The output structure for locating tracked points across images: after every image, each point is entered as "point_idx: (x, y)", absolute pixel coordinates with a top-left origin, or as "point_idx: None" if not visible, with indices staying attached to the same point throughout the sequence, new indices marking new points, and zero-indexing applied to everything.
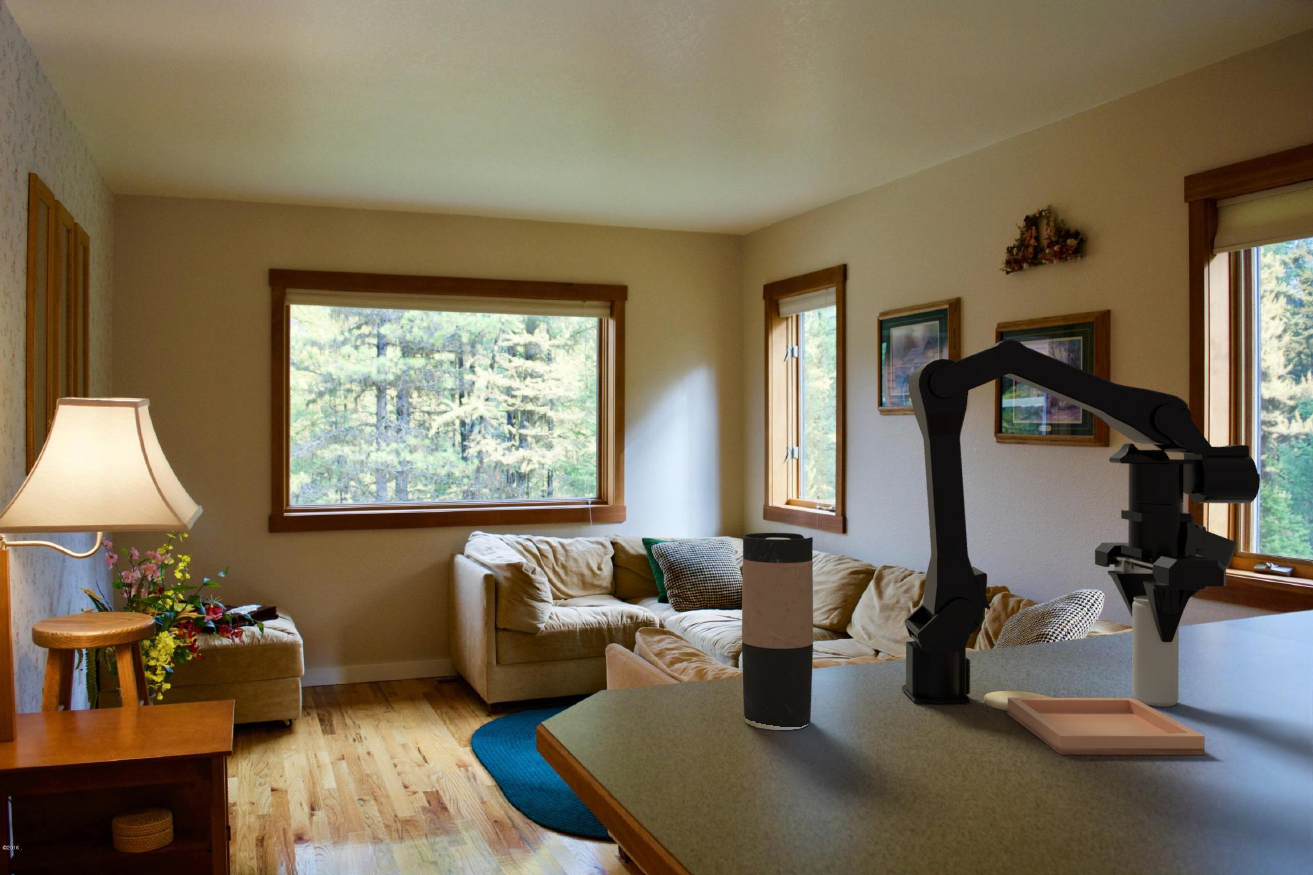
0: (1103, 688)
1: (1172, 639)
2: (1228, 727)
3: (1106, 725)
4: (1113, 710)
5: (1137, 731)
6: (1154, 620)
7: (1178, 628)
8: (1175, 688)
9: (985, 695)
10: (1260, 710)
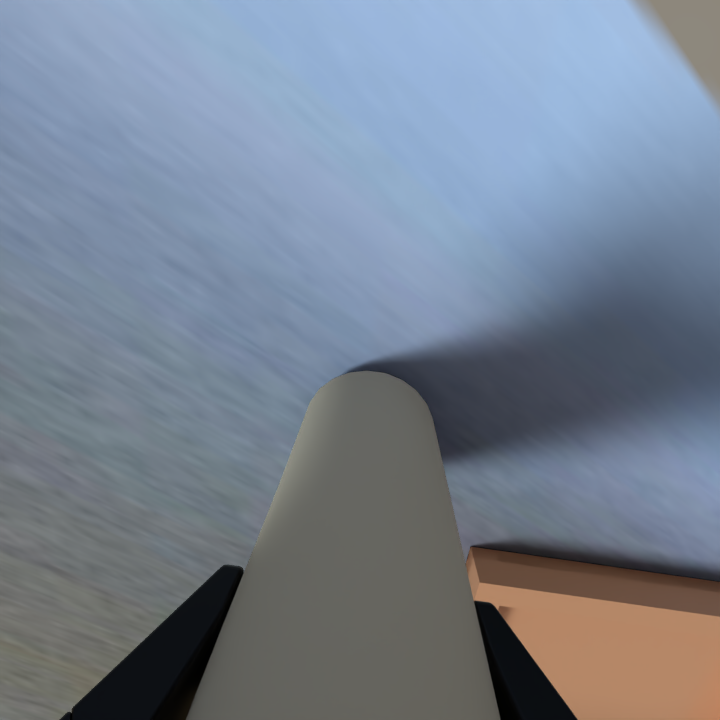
0: (203, 469)
1: (496, 612)
2: (655, 396)
3: (585, 679)
4: None
5: (647, 651)
6: None
7: (453, 595)
8: (433, 429)
9: None
10: (527, 136)
